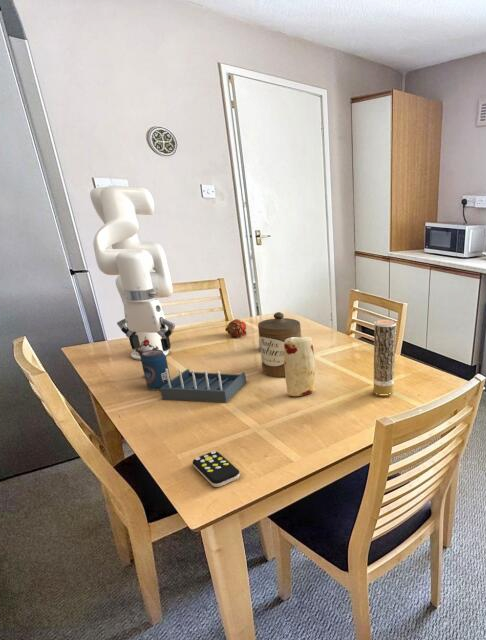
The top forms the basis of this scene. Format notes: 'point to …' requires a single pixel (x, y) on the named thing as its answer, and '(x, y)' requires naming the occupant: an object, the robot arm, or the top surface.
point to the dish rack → (202, 386)
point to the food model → (299, 365)
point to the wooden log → (384, 357)
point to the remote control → (216, 469)
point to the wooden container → (276, 342)
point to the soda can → (155, 368)
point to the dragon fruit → (236, 328)
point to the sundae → (146, 347)
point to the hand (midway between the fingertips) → (151, 348)
